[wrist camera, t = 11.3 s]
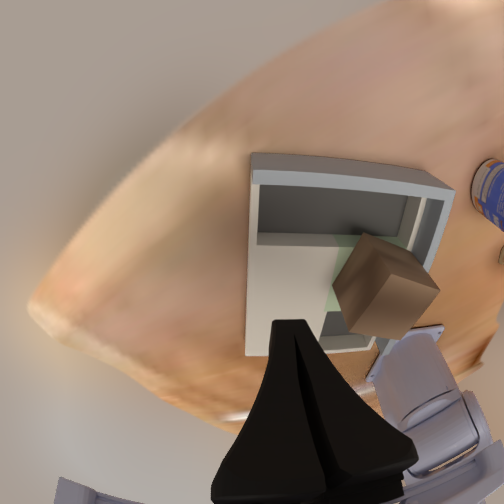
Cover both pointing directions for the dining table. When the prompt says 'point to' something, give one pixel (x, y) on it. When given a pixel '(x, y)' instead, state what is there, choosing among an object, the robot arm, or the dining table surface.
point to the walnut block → (382, 289)
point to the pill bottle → (490, 191)
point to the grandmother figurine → (501, 256)
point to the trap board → (329, 237)
